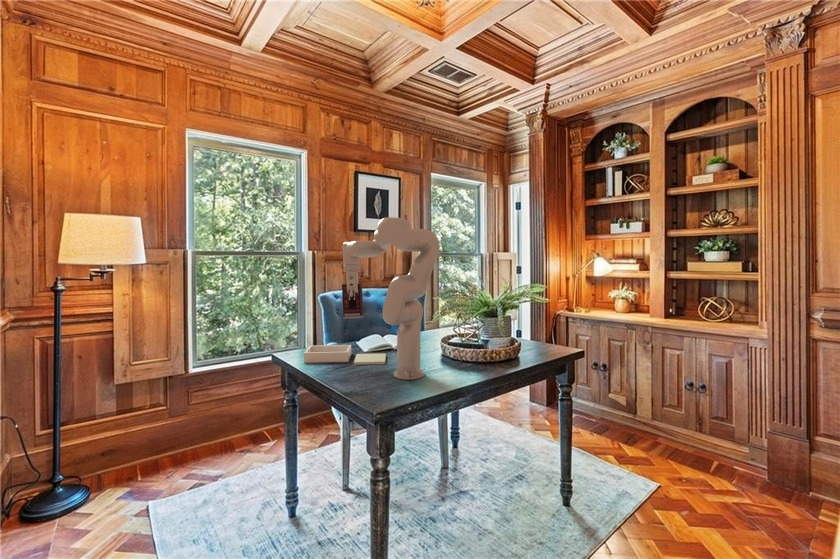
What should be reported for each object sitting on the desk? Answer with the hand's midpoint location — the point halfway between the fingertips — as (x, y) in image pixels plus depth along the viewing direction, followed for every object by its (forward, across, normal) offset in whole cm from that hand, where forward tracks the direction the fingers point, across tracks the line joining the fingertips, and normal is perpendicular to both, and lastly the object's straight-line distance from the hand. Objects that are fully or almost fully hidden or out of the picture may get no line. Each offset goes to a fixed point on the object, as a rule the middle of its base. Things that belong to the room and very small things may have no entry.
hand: (353, 307), depth 189 cm
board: (+25, -1, -7) cm, 26 cm away
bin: (+24, +4, +13) cm, 28 cm away
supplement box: (+5, 0, 0) cm, 5 cm away
